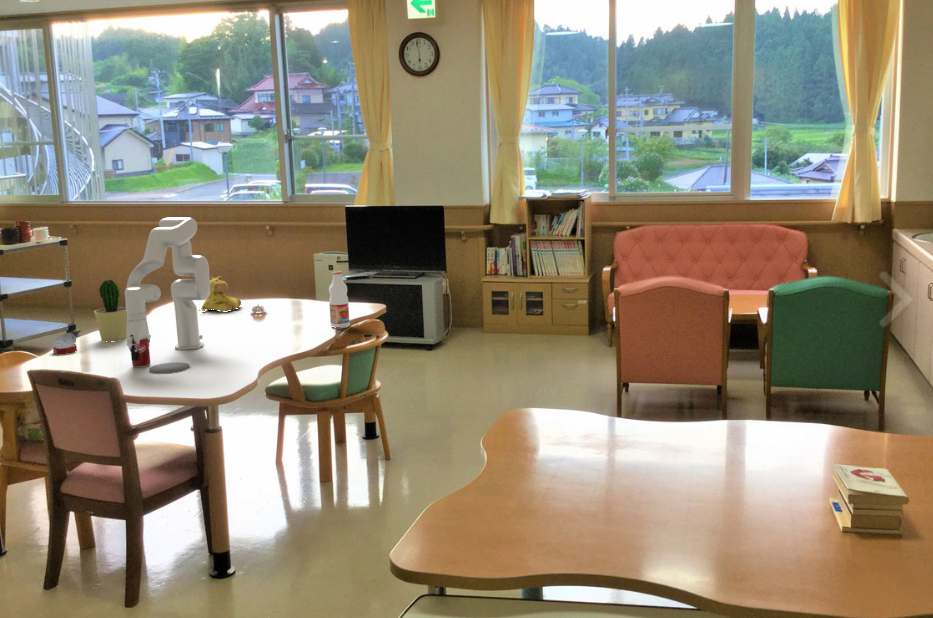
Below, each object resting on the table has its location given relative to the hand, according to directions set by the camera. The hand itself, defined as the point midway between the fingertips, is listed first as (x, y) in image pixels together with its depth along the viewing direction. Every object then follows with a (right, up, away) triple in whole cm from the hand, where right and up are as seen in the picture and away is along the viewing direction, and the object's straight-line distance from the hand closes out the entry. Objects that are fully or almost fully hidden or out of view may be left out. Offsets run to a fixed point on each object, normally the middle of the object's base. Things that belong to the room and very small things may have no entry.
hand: (140, 357), depth 365 cm
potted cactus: (-34, +6, +56) cm, 66 cm away
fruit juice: (+74, +11, +71) cm, 103 cm away
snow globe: (-46, +1, +32) cm, 56 cm away
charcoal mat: (+14, -4, -6) cm, 16 cm away
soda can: (0, -4, +1) cm, 4 cm away
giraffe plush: (-3, +20, +130) cm, 132 cm away
